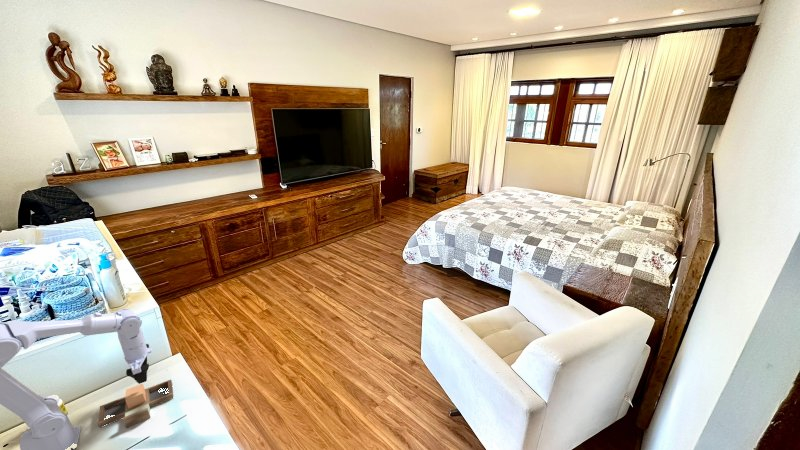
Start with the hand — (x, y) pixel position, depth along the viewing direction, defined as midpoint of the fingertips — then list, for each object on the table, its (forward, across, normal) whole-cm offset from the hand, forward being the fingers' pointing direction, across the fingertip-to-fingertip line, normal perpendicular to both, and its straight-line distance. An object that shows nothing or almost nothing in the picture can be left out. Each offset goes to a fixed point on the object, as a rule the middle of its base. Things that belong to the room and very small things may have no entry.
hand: (142, 373), depth 105 cm
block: (+7, -4, +3) cm, 8 cm away
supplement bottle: (+9, +3, +23) cm, 25 cm away
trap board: (+9, -6, +3) cm, 11 cm away
